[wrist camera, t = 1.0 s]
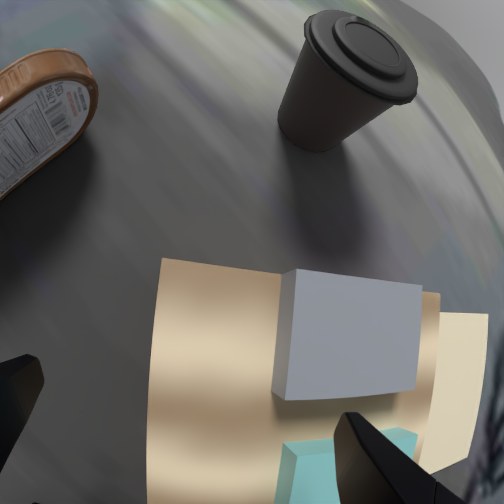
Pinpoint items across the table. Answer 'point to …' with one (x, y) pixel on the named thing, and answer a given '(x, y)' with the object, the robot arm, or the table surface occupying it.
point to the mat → (455, 389)
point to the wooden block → (244, 388)
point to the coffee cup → (343, 80)
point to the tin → (42, 111)
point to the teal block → (321, 468)
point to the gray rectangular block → (345, 336)
